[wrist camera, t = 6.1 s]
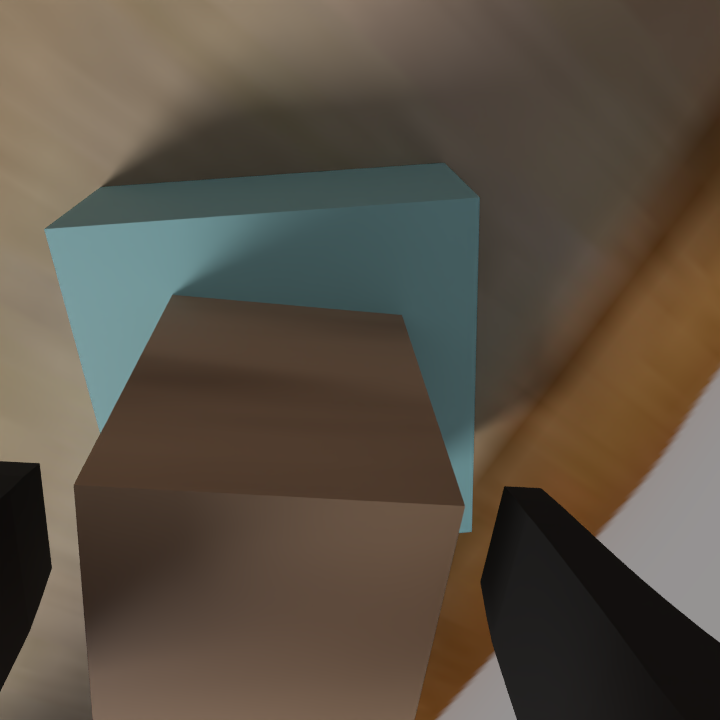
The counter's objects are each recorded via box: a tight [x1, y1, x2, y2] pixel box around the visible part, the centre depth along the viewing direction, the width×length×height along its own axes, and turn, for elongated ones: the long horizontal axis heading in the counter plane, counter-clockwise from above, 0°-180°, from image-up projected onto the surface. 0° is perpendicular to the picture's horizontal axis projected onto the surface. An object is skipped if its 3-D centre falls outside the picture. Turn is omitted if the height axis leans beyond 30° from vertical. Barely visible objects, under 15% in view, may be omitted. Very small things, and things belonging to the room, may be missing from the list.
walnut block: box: [74, 295, 465, 720], centre depth 11 cm, size 4×4×6 cm
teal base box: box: [44, 163, 480, 533], centre depth 16 cm, size 8×8×4 cm
